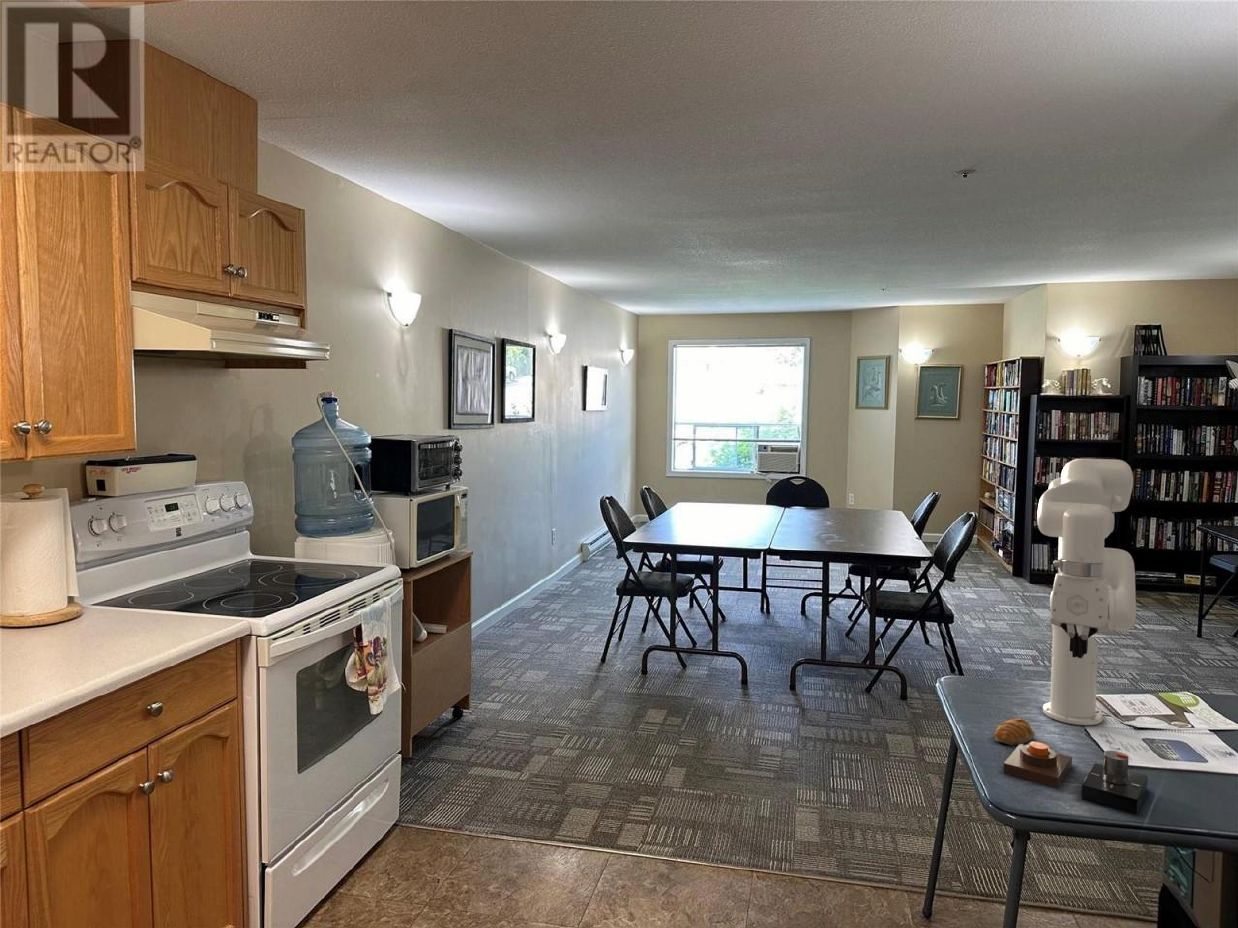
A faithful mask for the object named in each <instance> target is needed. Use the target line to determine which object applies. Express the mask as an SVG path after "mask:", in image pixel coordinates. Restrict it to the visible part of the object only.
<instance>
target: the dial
mask: <svg viewBox="0 0 1238 928" xmlns="http://www.w3.org/2000/svg"><path fill="white" fill-rule="evenodd" d="M1129 758H1130V757H1129V755H1128V754H1126V753H1124V752H1121V751H1117V750H1106V751H1104V752H1103V765H1104V769H1103V778H1104V780H1106V781H1107V782H1110V783H1113V784H1117V785H1124V784H1127V781H1128V771H1129Z"/></svg>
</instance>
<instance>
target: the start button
mask: <svg viewBox="0 0 1238 928" xmlns="http://www.w3.org/2000/svg"><path fill="white" fill-rule="evenodd" d="M1028 745H1029V753H1031V754H1034V755H1037V756H1048V752H1049V749H1050V747H1049V745H1048V744H1046V743H1044V742H1041V741H1029V743H1028Z"/></svg>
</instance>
